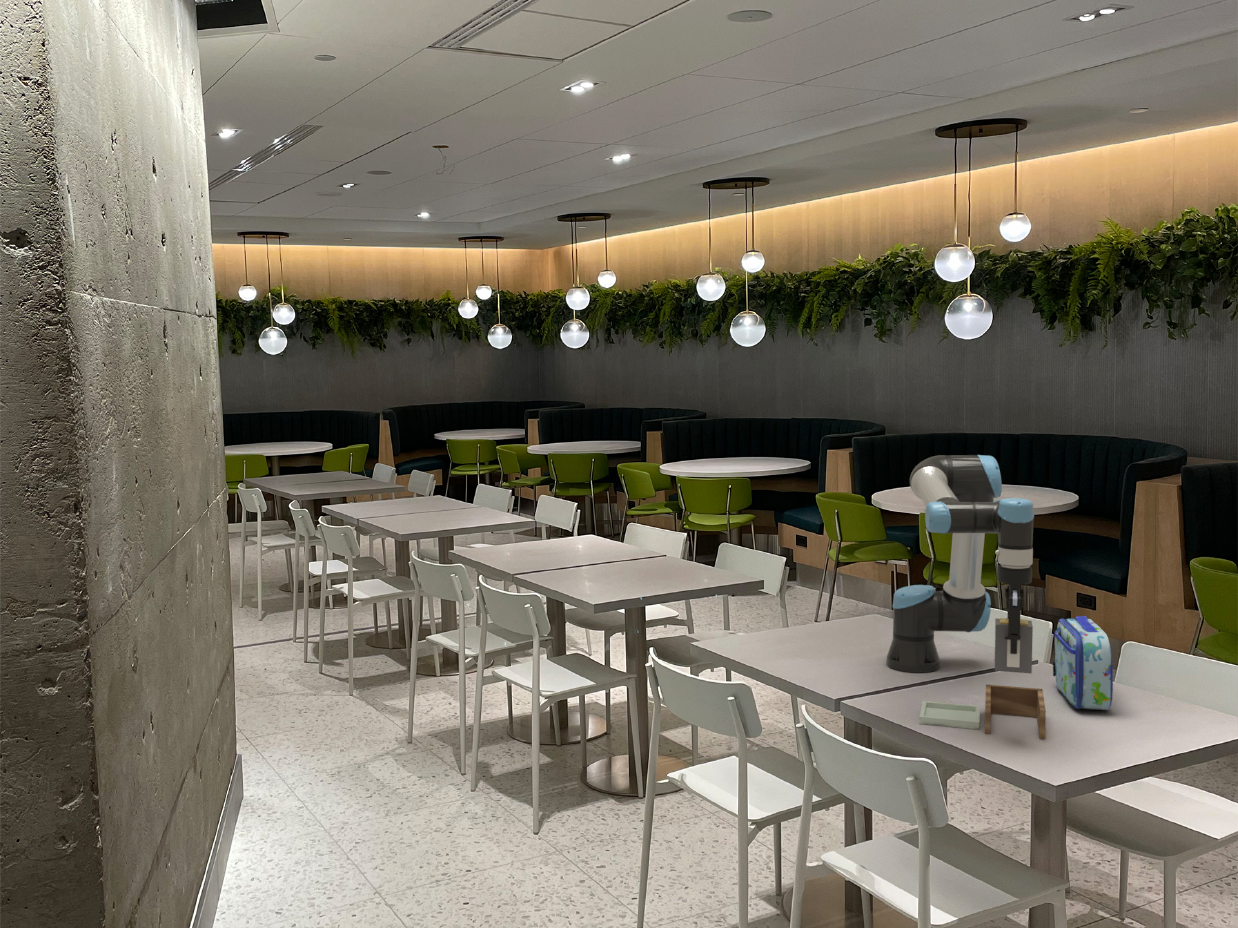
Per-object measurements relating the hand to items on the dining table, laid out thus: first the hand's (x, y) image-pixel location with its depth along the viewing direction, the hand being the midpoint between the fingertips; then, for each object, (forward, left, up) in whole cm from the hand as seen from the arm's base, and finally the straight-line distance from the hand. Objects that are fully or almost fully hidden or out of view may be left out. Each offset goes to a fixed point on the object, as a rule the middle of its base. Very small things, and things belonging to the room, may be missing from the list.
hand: (1012, 662), depth 249 cm
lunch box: (-36, +18, -19) cm, 44 cm away
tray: (-11, -14, -18) cm, 26 cm away
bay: (-11, +1, -19) cm, 21 cm away
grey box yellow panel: (0, 0, -1) cm, 1 cm away
